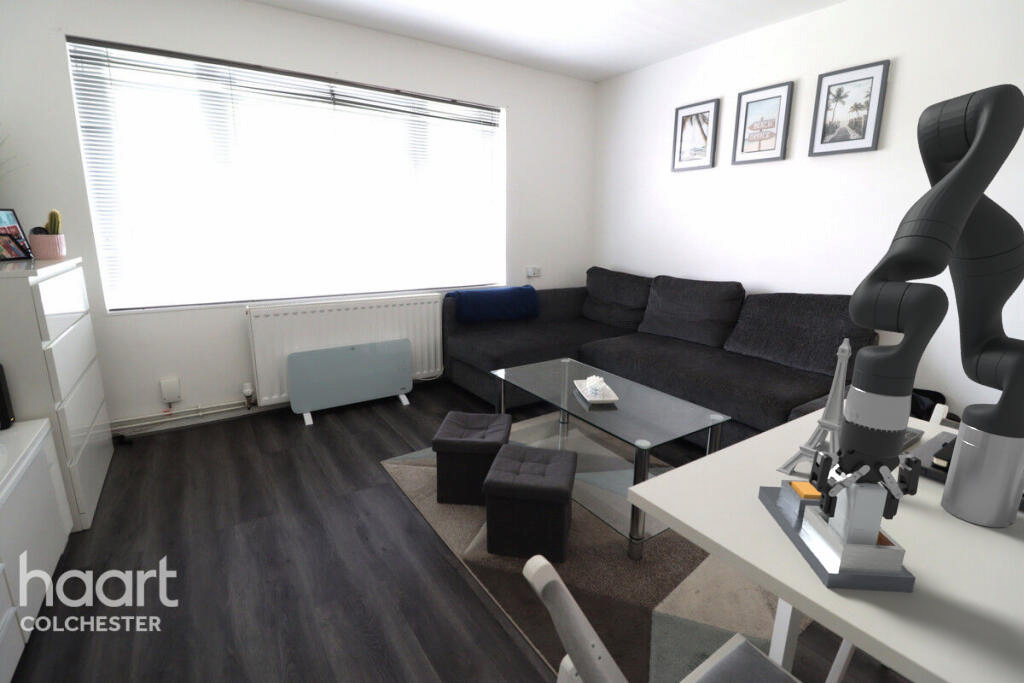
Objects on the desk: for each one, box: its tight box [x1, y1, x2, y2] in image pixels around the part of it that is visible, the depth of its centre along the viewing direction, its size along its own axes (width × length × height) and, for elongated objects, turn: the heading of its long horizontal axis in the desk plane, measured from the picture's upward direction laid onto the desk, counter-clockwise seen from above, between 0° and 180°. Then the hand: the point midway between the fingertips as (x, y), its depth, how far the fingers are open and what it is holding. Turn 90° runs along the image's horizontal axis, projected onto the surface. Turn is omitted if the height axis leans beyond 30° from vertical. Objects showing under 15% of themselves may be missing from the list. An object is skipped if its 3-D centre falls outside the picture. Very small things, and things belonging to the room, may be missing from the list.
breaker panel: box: [757, 479, 917, 593], centre depth 82 cm, size 12×24×6 cm, turn 176°
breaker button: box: [791, 481, 821, 499], centre depth 87 cm, size 4×4×3 cm
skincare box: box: [828, 472, 887, 545], centre depth 75 cm, size 6×4×12 cm
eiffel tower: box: [776, 338, 853, 485], centre depth 100 cm, size 13×13×30 cm
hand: (855, 515), depth 74 cm, fingers open, 8 cm apart
